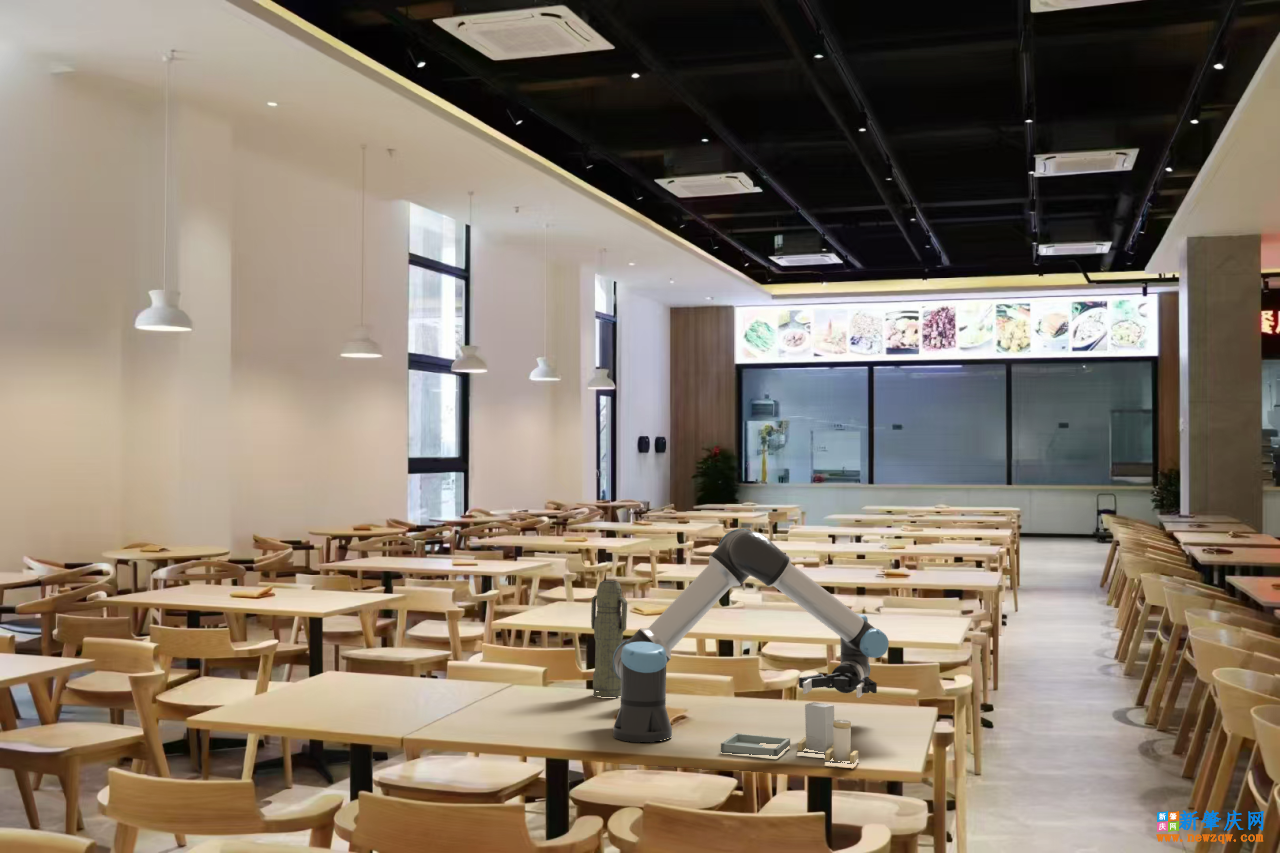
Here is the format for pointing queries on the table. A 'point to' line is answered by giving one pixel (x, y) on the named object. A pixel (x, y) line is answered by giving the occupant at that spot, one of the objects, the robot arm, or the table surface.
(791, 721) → the table surface
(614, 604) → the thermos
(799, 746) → the cream flat frame
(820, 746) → the skincare box
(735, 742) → the tray
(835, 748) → the fuse
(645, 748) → the table surface
